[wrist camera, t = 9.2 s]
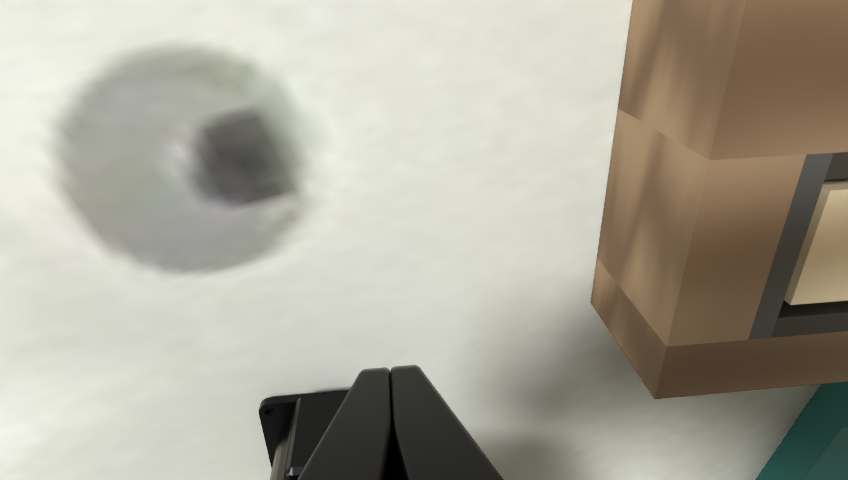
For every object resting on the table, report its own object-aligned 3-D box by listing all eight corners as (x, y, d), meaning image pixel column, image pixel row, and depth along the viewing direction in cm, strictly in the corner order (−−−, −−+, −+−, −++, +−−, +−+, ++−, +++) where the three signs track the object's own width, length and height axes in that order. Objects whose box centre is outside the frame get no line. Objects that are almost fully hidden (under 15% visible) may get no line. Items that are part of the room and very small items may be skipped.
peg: (784, 222, 23) (905, 295, 17) (694, 228, 22) (790, 305, 17) (814, 129, 21) (957, 182, 16) (716, 135, 20) (830, 190, 15)
